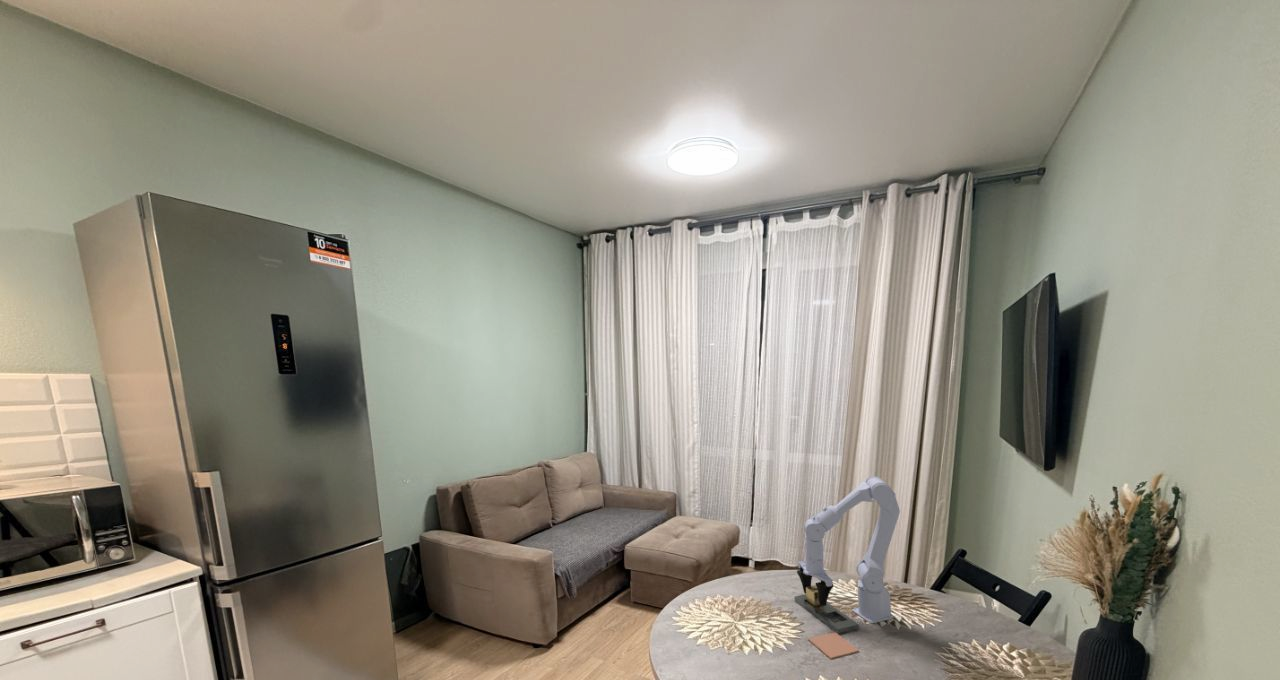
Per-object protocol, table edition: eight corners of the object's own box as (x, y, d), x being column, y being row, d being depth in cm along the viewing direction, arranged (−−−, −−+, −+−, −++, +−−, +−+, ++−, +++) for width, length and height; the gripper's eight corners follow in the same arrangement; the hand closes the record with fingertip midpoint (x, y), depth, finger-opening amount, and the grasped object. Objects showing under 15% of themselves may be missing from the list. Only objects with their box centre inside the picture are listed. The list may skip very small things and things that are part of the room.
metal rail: (813, 597, 155) (813, 592, 155) (858, 629, 136) (858, 624, 136) (794, 600, 152) (794, 596, 152) (837, 634, 133) (837, 629, 134)
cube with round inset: (815, 603, 151) (815, 585, 151) (824, 609, 147) (823, 590, 148) (806, 605, 150) (805, 587, 150) (814, 611, 146) (814, 592, 146)
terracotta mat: (835, 633, 134) (835, 632, 134) (858, 651, 125) (858, 650, 125) (808, 640, 131) (808, 638, 131) (830, 659, 122) (830, 657, 122)
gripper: (790, 549, 155) (791, 589, 154) (819, 567, 141) (820, 611, 140) (807, 547, 157) (807, 586, 156) (837, 564, 144) (838, 608, 143)
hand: (814, 598), depth 149 cm, fingers open, 7 cm apart
